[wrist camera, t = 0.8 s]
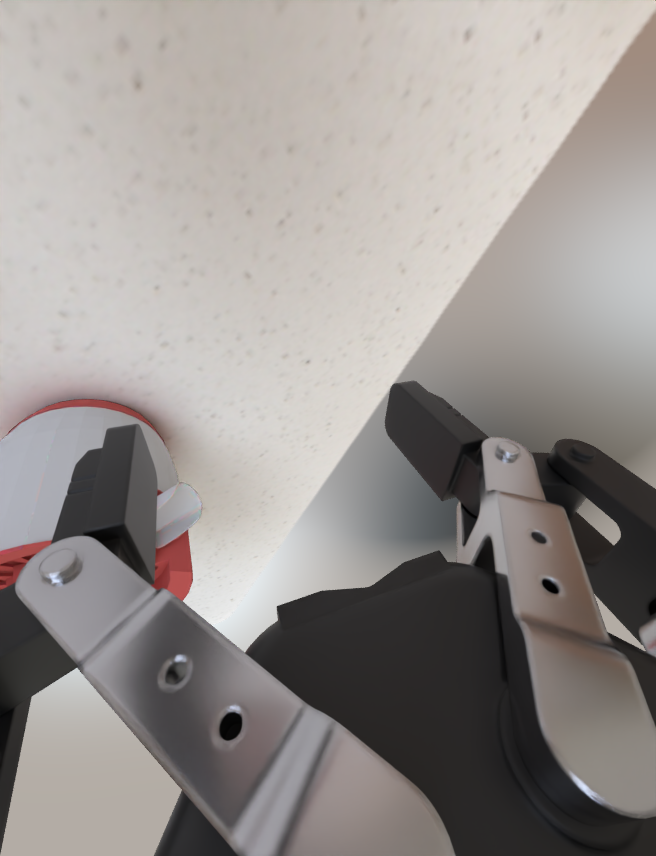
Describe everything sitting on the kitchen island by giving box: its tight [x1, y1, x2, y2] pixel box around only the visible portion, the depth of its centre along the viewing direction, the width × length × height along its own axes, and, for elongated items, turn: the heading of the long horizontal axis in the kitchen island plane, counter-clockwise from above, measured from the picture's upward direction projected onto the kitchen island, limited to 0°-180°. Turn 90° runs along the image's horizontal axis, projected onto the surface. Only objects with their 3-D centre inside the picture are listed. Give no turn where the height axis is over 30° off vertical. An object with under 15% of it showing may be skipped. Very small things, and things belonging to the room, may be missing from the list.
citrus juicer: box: [0, 399, 202, 601], centre depth 28 cm, size 16×17×20 cm
